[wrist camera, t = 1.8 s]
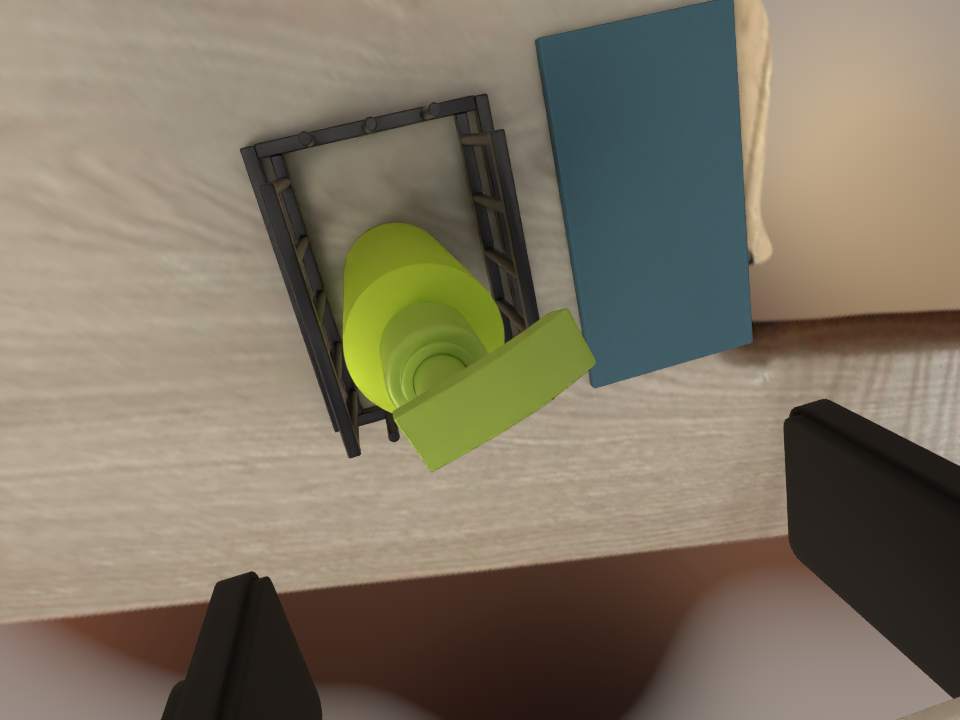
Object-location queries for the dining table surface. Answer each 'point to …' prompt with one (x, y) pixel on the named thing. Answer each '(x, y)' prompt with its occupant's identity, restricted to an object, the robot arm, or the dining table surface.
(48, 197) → the dining table surface
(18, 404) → the dining table surface
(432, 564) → the dining table surface
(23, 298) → the dining table surface
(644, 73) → the drying mat
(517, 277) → the dish rack
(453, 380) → the soap dispenser
